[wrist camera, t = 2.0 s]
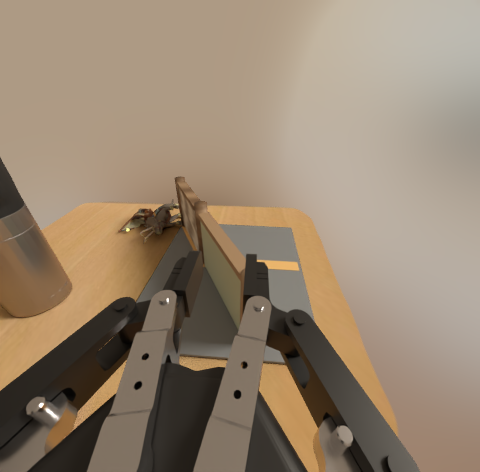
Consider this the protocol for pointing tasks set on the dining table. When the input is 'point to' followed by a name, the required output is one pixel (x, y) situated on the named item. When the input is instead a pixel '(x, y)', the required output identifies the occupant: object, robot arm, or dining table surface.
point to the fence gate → (224, 265)
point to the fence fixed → (190, 212)
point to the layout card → (210, 302)
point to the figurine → (153, 219)
